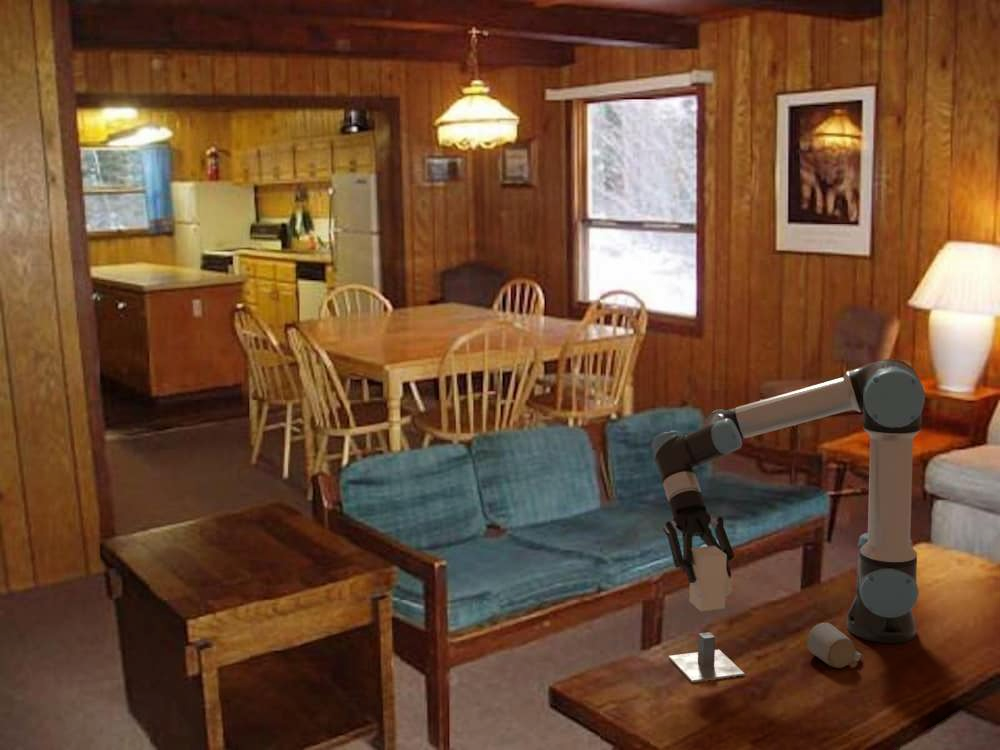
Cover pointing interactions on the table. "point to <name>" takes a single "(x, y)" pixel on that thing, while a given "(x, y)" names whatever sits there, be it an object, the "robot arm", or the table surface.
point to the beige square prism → (709, 577)
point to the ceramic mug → (831, 646)
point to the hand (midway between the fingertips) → (715, 594)
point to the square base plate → (706, 662)
